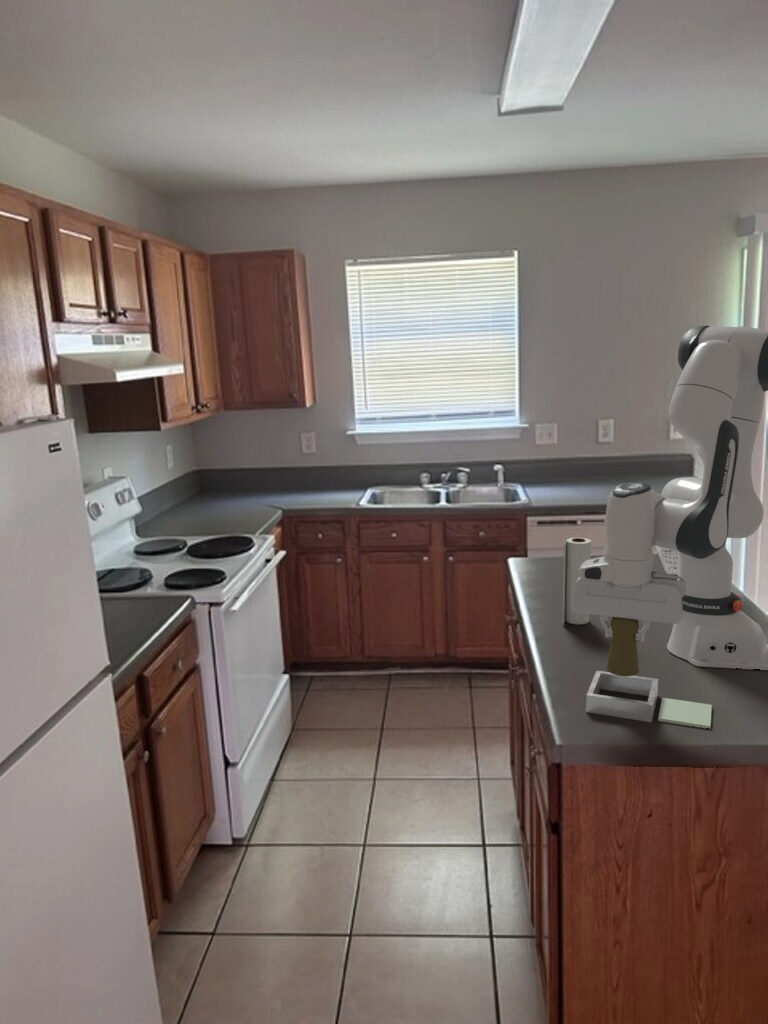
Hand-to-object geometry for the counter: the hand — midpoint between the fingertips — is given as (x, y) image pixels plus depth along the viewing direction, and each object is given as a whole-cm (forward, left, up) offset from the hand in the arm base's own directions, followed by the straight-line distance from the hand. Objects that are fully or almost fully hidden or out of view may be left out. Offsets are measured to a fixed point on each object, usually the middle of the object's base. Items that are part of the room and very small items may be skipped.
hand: (624, 638), depth 147 cm
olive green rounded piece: (0, 0, -7) cm, 7 cm away
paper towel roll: (+17, -43, -14) cm, 48 cm away
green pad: (-12, 0, -14) cm, 18 cm away
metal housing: (0, 0, -14) cm, 14 cm away
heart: (-7, -72, -14) cm, 73 cm away
